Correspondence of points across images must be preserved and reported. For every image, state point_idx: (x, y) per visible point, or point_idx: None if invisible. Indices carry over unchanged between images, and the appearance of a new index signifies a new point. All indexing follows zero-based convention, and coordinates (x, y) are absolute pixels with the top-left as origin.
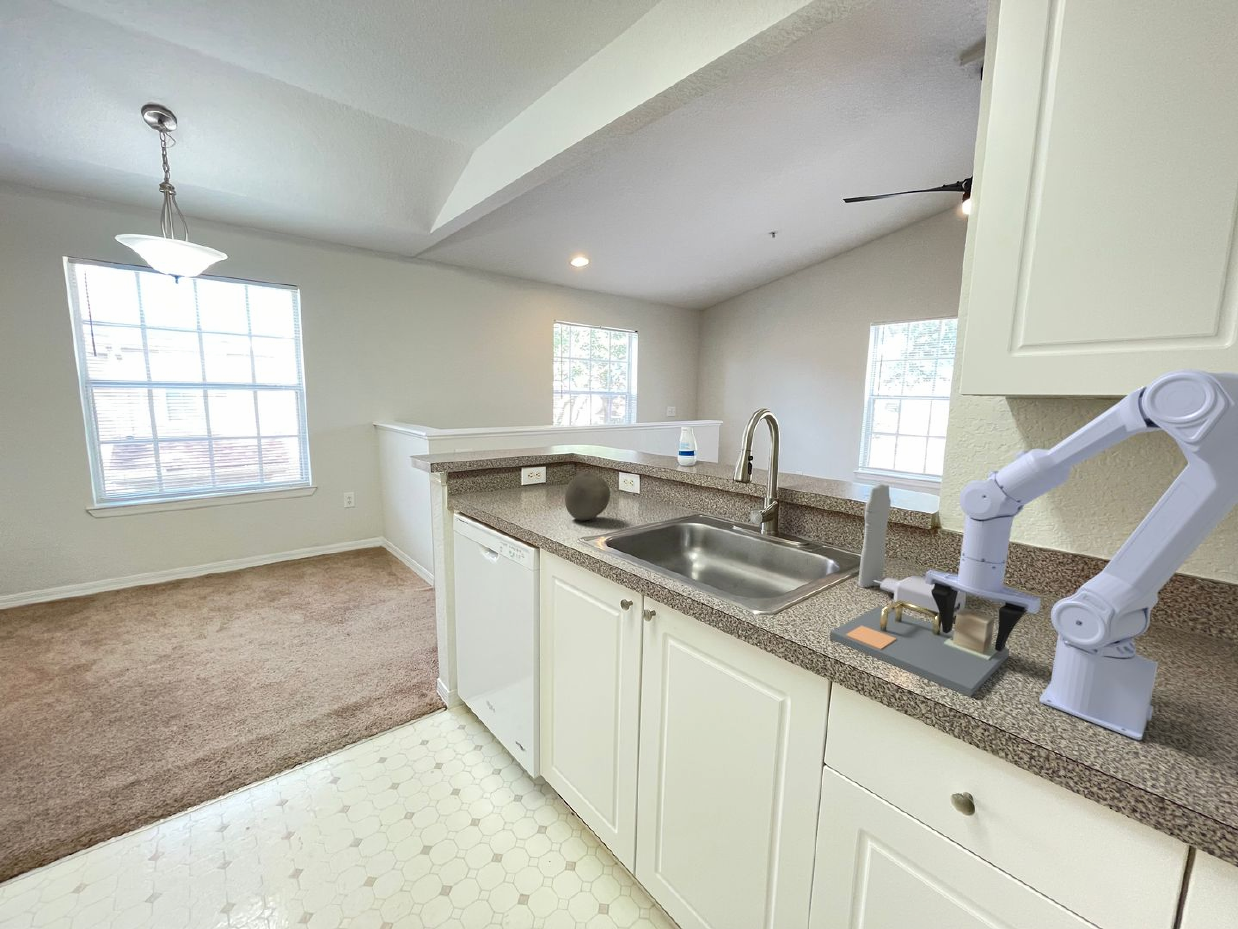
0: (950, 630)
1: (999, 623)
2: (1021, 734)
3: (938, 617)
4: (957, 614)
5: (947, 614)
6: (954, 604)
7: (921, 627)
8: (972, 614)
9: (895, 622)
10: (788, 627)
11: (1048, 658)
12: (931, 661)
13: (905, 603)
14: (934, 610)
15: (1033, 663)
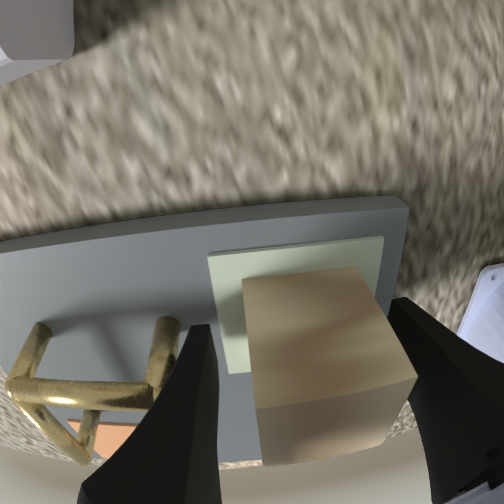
0: (211, 335)
1: (425, 444)
2: (402, 432)
3: None
4: (267, 466)
5: (215, 442)
6: (197, 430)
7: (105, 318)
8: (317, 435)
9: (52, 347)
10: (39, 444)
11: (479, 86)
12: (259, 440)
13: (35, 403)
14: (4, 79)
15: (454, 176)
